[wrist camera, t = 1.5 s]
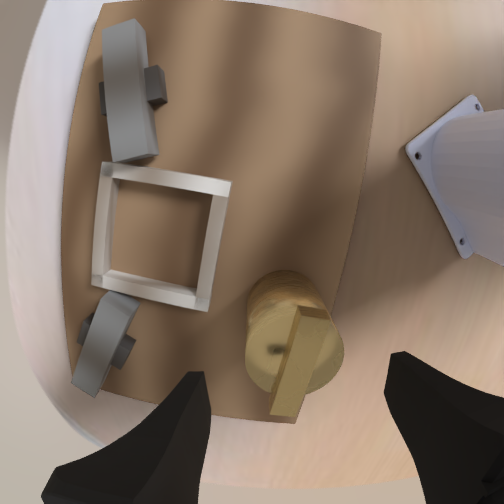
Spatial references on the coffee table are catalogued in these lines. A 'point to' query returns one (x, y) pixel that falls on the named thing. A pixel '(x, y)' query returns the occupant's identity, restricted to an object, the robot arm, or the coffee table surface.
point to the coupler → (289, 340)
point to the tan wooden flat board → (206, 186)
